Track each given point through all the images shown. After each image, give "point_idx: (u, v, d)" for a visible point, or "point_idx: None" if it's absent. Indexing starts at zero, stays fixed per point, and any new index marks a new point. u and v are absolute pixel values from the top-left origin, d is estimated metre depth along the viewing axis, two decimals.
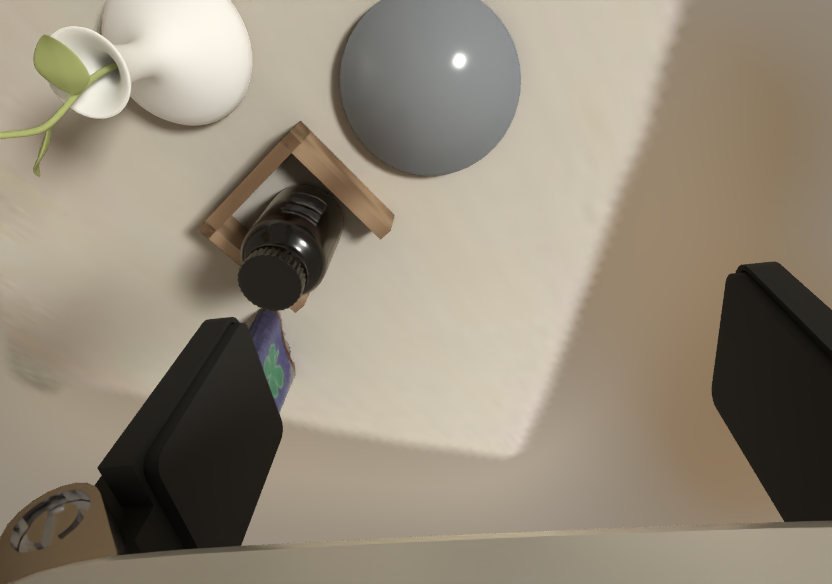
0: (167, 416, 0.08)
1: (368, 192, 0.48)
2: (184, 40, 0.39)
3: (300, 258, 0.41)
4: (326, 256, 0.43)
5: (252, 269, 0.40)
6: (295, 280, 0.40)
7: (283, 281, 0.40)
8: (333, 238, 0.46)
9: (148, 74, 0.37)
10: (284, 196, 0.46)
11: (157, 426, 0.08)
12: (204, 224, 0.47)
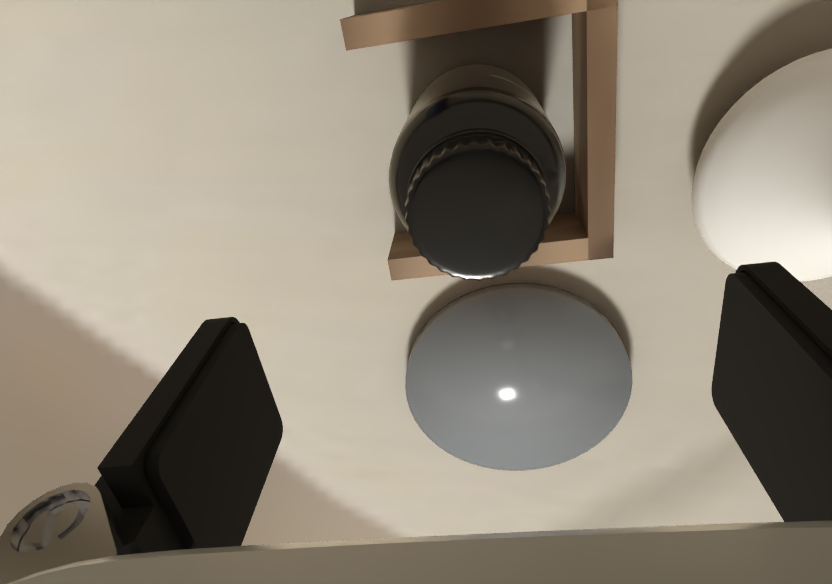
0: (167, 416, 0.08)
1: None
2: None
3: None
4: None
5: (526, 211, 0.18)
6: (450, 265, 0.19)
7: (463, 244, 0.18)
8: None
9: None
10: None
11: (157, 427, 0.08)
12: None
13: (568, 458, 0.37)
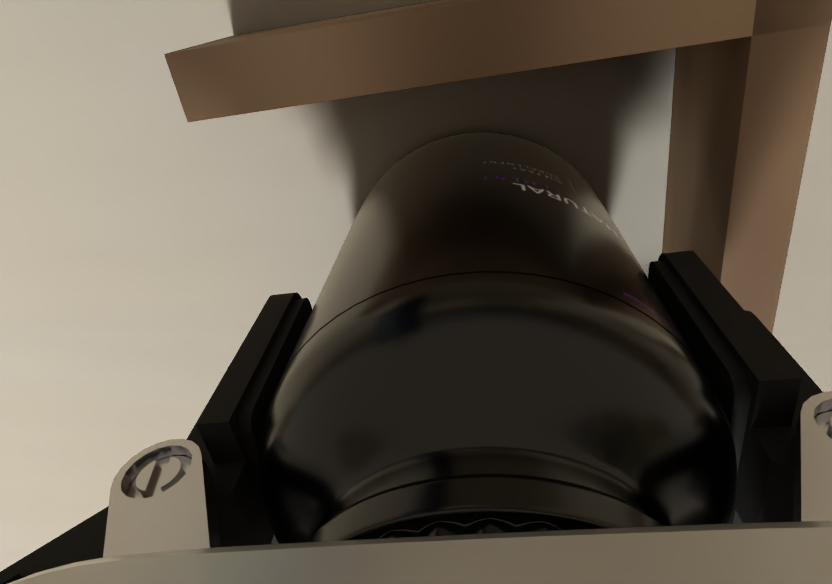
0: (252, 380, 0.09)
1: None
2: None
3: None
4: None
5: None
6: None
7: None
8: None
9: None
10: None
11: (245, 389, 0.09)
12: (825, 1, 0.09)
13: None
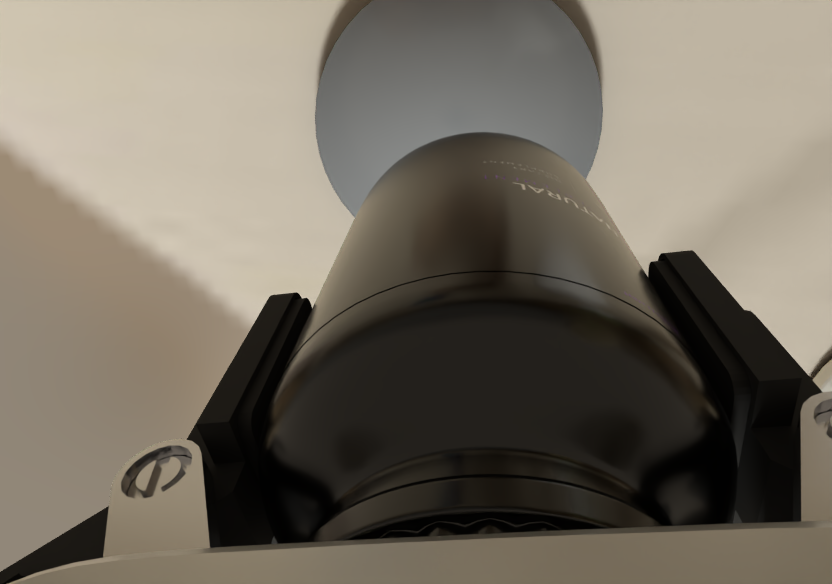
0: (252, 380, 0.09)
1: None
2: None
3: None
4: None
5: None
6: None
7: None
8: None
9: None
10: None
11: (245, 389, 0.09)
12: None
13: None
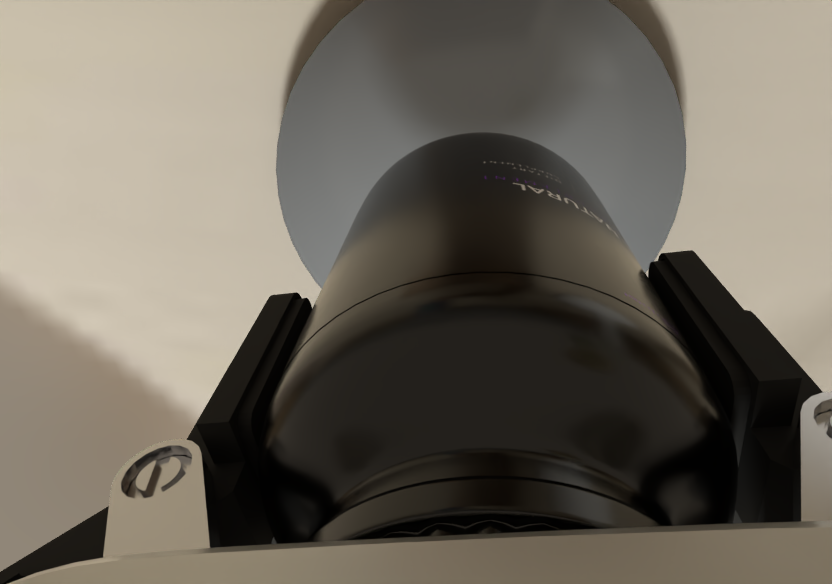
0: (252, 380, 0.09)
1: None
2: None
3: None
4: None
5: None
6: None
7: None
8: None
9: None
10: None
11: (245, 389, 0.09)
12: None
13: None
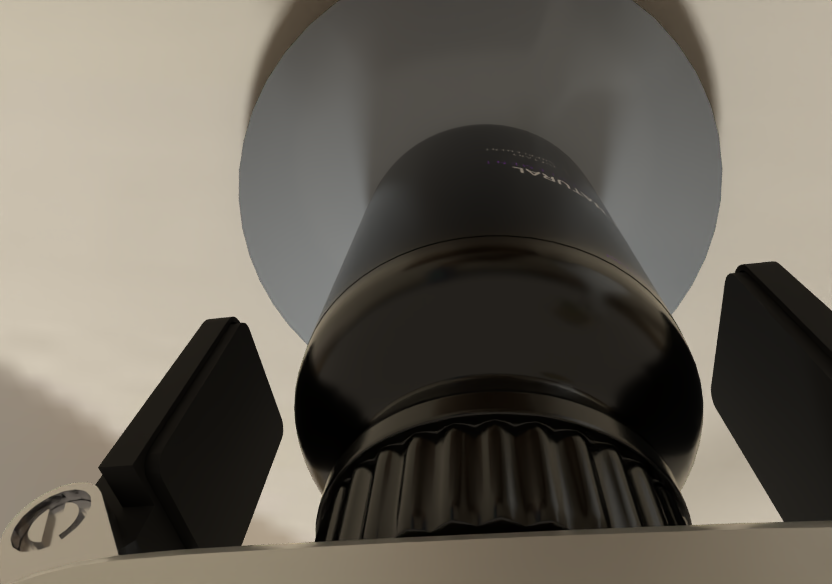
0: (168, 416, 0.08)
1: None
2: None
3: None
4: None
5: None
6: None
7: None
8: None
9: None
10: None
11: (157, 427, 0.08)
12: None
13: None
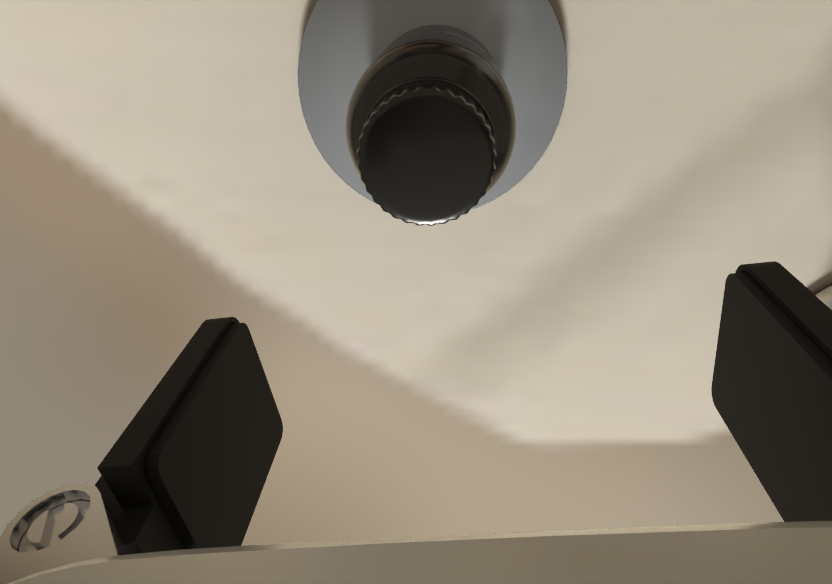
0: (167, 416, 0.08)
1: None
2: None
3: None
4: None
5: (472, 155, 0.18)
6: (403, 211, 0.20)
7: (414, 189, 0.19)
8: None
9: None
10: None
11: (157, 427, 0.08)
12: None
13: (499, 193, 0.32)
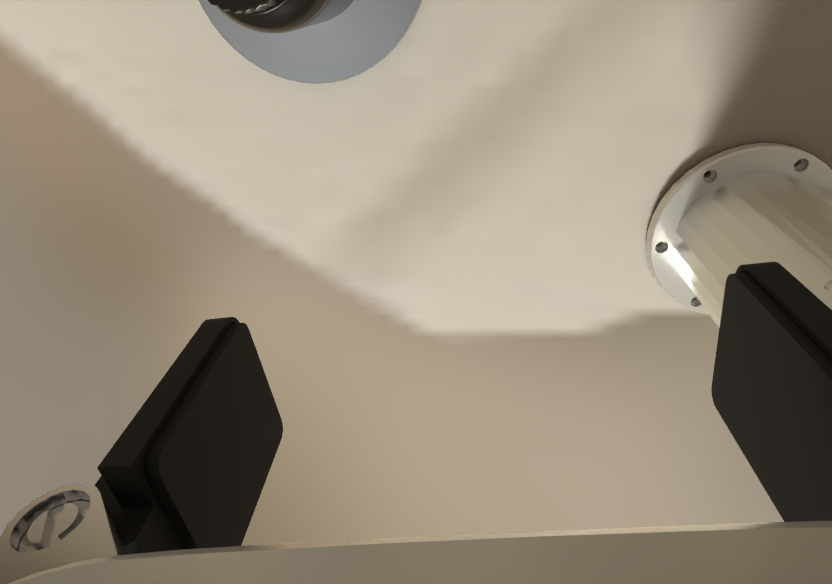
0: (167, 416, 0.08)
1: None
2: None
3: (252, 14, 0.23)
4: None
5: None
6: None
7: None
8: None
9: None
10: None
11: (157, 427, 0.08)
12: None
13: (377, 59, 0.34)
